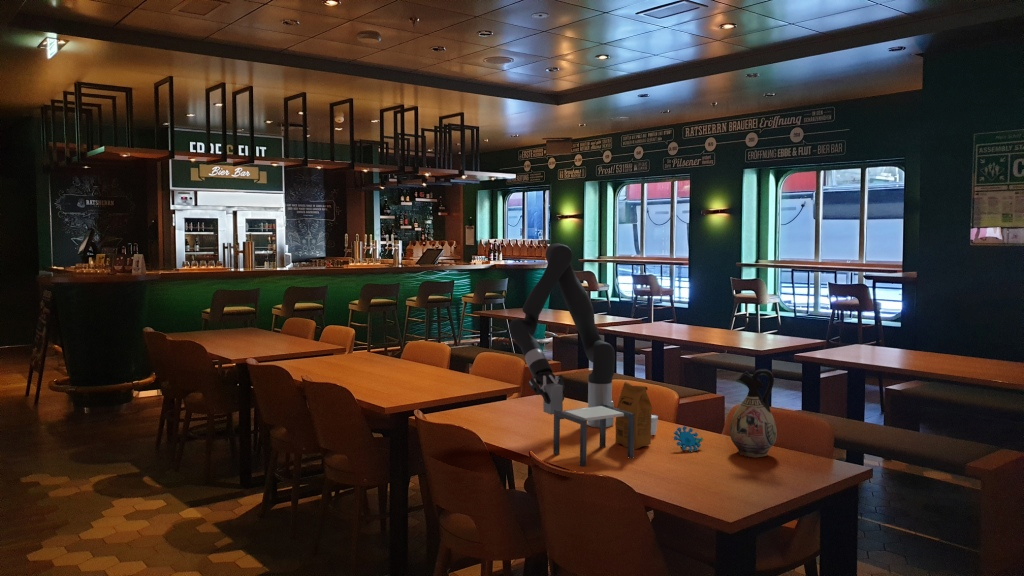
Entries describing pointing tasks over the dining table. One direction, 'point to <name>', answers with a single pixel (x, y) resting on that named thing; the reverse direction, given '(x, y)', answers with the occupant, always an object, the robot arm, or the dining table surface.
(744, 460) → the dining table surface
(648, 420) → the coffee package
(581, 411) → the trapdoor
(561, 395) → the grey rectangular block
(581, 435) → the frame
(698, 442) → the blue knobbed toy
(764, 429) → the ceramic jug
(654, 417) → the shot glass
